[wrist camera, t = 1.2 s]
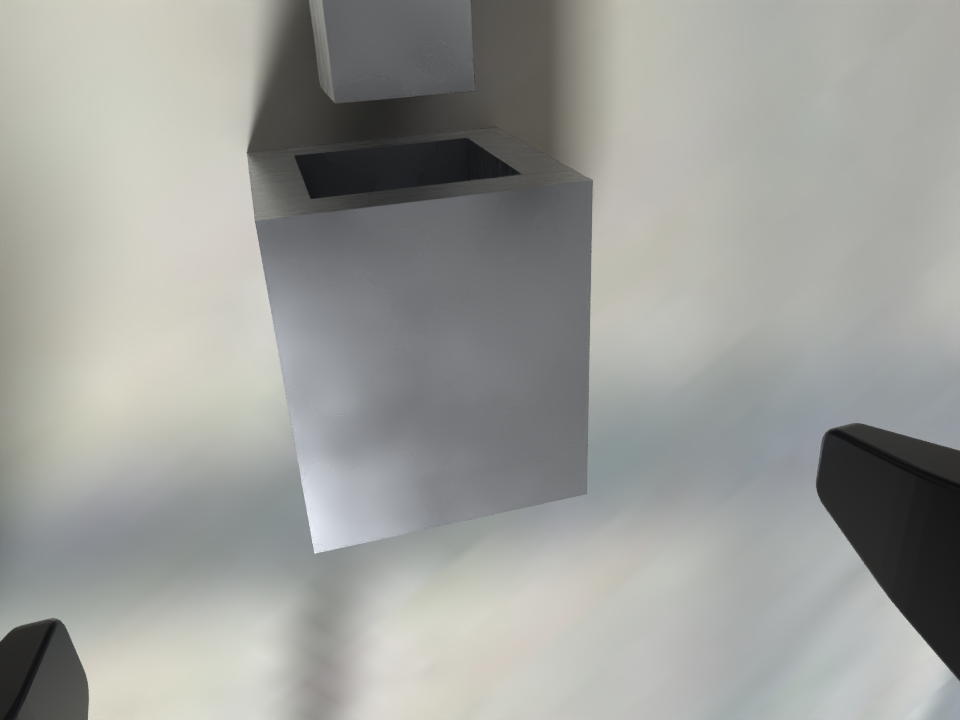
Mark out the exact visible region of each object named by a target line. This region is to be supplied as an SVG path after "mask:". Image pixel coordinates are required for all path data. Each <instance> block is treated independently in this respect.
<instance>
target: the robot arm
mask: <svg viewBox="0 0 960 720" xmlns="http://www.w3.org/2000/svg"><path fill="white" fill-rule="evenodd" d="M816 488H817V493H818V496H819V498H820V500H821V502H822V504H823V505H824V507H825V508H826V510H827V511H828V512H829V514H830V515H831V517H832V518H833V520H834V521H835V522H836V524H837V525H838V527H839V528H840V529H841V531H842V532H843V534H844V535H845V537H846V538H847V539H848V541H849V542H850V544H851V545H852V547H853V548H854V549H855V551H856V552H857V554H858V555H859V557H860V558H861V559H862V561H863V562H864V564H865V565H866V566H867V568H868V569H869V571H870V572H871V574H872V575H873V576H874V578H875V579H876V581H877V582H878V584H879V585H880V586H881V588H882V589H883V590H884V592H885V593H886V594H887V596H888V597H889V598H890V600H891V601H892V602H893V603H894V605H895V606H896V607H897V608H898V609H899V611H900V612H901V613H902V614H903V616H904V617H905V618H906V619H907V620H908V621H909V623H910V624H911V625H912V626H913V627H914V628H915V630H916V631H917V632H918V633H919V634H920V635H921V637H922V638H923V639H924V640H925V641H926V642H927V644H928V645H929V646H930V647H931V648H932V650H933V651H934V652H935V653H936V654H937V655H938V657H939V658H940V659H941V660H942V661H943V662H944V664H945V665H946V666H947V667H948V668H949V669H950V671H951V672H952V673H953V674H954V675H955V676H956V678H957V679H958V680H959V681H960V451H959V450H956V449H952V448H948V447H945V446H941V445H937V444H934V443H930V442H926V441H923V440H919V439H916V438H912V437H908V436H905V435H901V434H897V433H894V432H890V431H887V430H883V429H879V428H876V427H872V426H868V425H865V424H860V423H853V424H848V425H844V426H840V427H836V428H832V429H830V430H828V431H827V432H826V433H825V435H824V436H823V439H822V444H821V451H820V458H819V464H818V471H817V478H816ZM88 704H89V690H88V682H87V678H86V674H85V671H84V669H83V666H82V664H81V662H80V659H79V657H78V655H77V652H76V650H75V648H74V645H73V643H72V641H71V638H70V636H69V634H68V631H67V629H66V627H65V625H64V624H63V623H62V622H61V621H60V620H58V619H55V618H50V619H46V620H42V621H38V622H34V623H30V624H25V625H21V626H19V627H16V628H14V629H13V630H11V631H10V632H9V633H8V634H7V635H6V636H5V637H4V638H3V639H2V640H1V641H0V720H88Z"/></svg>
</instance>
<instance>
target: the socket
mask: <svg viewBox="0 0 960 720" xmlns="http://www.w3.org/2000/svg"><path fill="white" fill-rule="evenodd" d="M247 157H248V165H249V174H250V182H251V191H252V199H253V208H254V216H255V223H256V229H257V235H258V240H259V246H260V251H261V257H262V263H263V268H264V274H265V279H266V285H267V290H268V296H269V302H270V307H271V313H272V318H273V324H274V330H275V335H276V341H277V346H278V352H279V358H280V363H281V369H282V374H283V380H284V385H285V391H286V397H287V402H288V408H289V413H290V419H291V425H292V430H293V436H294V441H295V447H296V453H297V458H298V464H299V469H300V475H301V481H302V486H303V492H304V497H305V503H306V508H307V514H308V520H309V525H310V531H311V536H312V542H313V548H314V553H320V552H324V551H329V550H333V549H338V548H343V547H347V546H352V545H356V544H361V543H365V542H370V541H374V540H379V539H384V538H388V537H393V536H397V535H402V534H406V533H411V532H415V531H420V530H425V529H429V528H434V527H438V526H443V525H447V524H452V523H457V522H461V521H466V520H470V519H475V518H479V517H484V516H488V515H493V514H498V513H502V512H507V511H511V510H516V509H520V508H525V507H529V506H534V505H539V504H543V503H548V502H552V501H557V500H561V499H566V498H570V497H575V496H580V495H584V494H587V453H588V400H589V346H590V293H591V239H592V186H593V180H591V179H589V178H588V177H586V176H584V175H582V174H580V173H578V172H577V171H575V170H573V169H571V168H569V167H568V166H566V165H564V164H562V163H560V162H558V161H557V160H555V159H553V158H551V157H549V156H548V155H546V154H544V153H542V152H540V151H538V150H537V149H535V148H533V147H531V146H529V145H528V144H526V143H524V142H522V141H520V140H518V139H517V138H515V137H513V136H511V135H509V134H508V133H506V132H504V131H502V130H500V129H498V128H497V127H494V128H484V129H474V130H464V131H454V132H444V133H434V134H424V135H414V136H404V137H394V138H384V139H374V140H364V141H354V142H345V143H335V144H325V145H315V146H305V147H295V148H285V149H275V150H265V151H255V152H247Z"/></svg>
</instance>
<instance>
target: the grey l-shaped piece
mask: <svg viewBox="0 0 960 720" xmlns="http://www.w3.org/2000/svg"><path fill="white" fill-rule="evenodd" d="M309 5H310V13H311V21H312V28H313V36H314V44H315V51H316V59H317V66H318V74H319V82H320V87H321V88H322V89H323V90H324V92H325V93H326V94H327V95H328V96H329V97H330V98H331V100H332V101H333V102H334V103H335V104H336V103H347V102H358V101H369V100H381V99H392V98H403V97H414V96H425V95H437V94H448V93H459V92H470V91H475V80H474V59H473V37H472V16H471V0H309Z"/></svg>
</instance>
